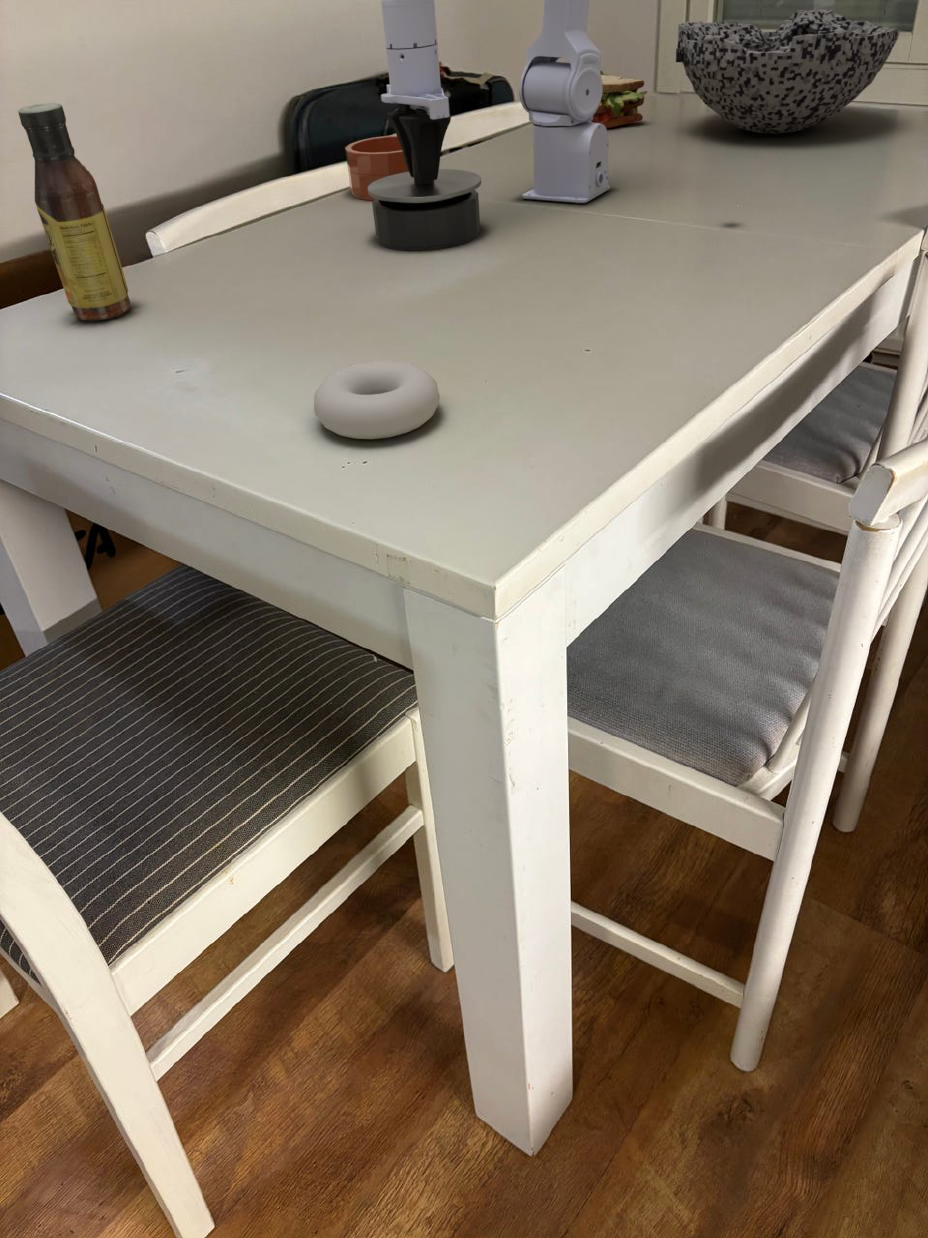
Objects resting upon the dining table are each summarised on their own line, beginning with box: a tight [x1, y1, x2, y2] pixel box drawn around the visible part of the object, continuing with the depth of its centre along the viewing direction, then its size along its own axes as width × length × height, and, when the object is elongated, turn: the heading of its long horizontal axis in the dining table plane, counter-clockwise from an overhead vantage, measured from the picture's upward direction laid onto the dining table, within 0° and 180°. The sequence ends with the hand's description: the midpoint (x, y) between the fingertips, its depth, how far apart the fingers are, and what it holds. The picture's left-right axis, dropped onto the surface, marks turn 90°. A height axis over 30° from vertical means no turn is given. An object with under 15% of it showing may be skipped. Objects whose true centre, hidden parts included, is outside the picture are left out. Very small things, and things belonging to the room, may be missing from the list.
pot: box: [344, 134, 409, 201], centre depth 135 cm, size 12×12×6 cm
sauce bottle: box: [17, 102, 132, 322], centre depth 96 cm, size 7×6×20 cm
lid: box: [368, 150, 482, 203], centre depth 113 cm, size 14×14×5 cm
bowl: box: [675, 9, 901, 135], centre depth 146 cm, size 31×31×15 cm
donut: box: [313, 360, 440, 440], centre depth 75 cm, size 10×4×10 cm
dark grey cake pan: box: [371, 189, 481, 252], centre depth 116 cm, size 13×13×4 cm
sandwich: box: [591, 69, 648, 129], centre depth 161 cm, size 16×12×8 cm
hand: (423, 177), depth 113 cm, fingers closed on lid, 2 cm apart
